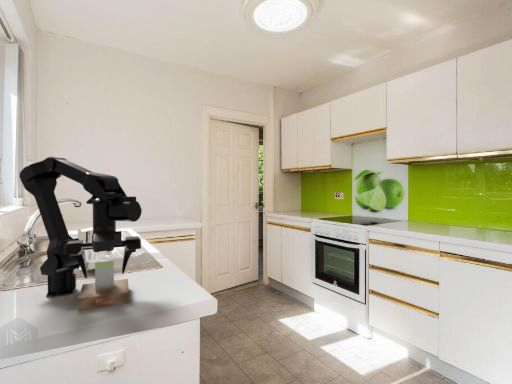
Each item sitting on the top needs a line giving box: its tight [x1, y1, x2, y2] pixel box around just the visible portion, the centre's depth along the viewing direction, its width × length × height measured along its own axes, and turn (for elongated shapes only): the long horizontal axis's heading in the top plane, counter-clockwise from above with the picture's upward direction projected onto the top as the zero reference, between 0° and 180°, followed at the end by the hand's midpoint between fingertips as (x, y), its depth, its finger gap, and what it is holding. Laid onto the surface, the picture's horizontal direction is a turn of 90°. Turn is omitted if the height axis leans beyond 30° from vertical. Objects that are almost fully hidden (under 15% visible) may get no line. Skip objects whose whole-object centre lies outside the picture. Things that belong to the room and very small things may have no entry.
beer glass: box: [77, 227, 98, 271], centre depth 111 cm, size 7×7×15 cm
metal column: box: [94, 256, 115, 292], centre depth 82 cm, size 4×4×8 cm
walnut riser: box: [77, 278, 130, 311], centre depth 82 cm, size 12×12×3 cm
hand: (104, 275), depth 82 cm, fingers open, 9 cm apart
